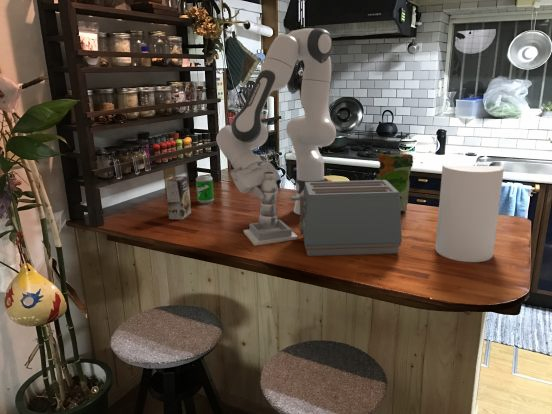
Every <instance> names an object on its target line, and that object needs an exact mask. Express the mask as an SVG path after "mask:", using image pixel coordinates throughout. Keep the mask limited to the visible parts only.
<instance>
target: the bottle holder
mask: <svg viewBox="0 0 552 414" xmlns="http://www.w3.org/2000/svg"><path fill="white" fill-rule="evenodd" d="M248 227H249V229H248V228H247V229H243V233H244V235H245V236H246V237H247V238H248V239H249V241H250V242H251V243H252V244H253V246H261V245H267V244H274V243H280V242H286V241H287V242H288V241H294V240H298V239H299V236H298V235H297V234H296V233H295V232H294V231H292V230H293V229H292V228H290V227H289V226H288V225H287V224H286V223H285V222H284V221H282V220H281V219H277V225H276V226H275V227H273V228H264V227H262V226H261V225H260V223H259V222H254V223H253V222H252V223H249V225H248Z"/></svg>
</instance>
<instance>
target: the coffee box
mask: <svg viewBox="0 0 552 414" xmlns="http://www.w3.org/2000/svg"><path fill="white" fill-rule="evenodd" d="M165 185H166V198H167V199H166V201H167V209H168V211H167V212H168V219H169V220H180V221H181V220H182V221H183V220H184V219H186V218H187V217H188V216H189V215H191V214H192V209H191V208H192V207H191V198H190V197H191V196H190V195H191V194H190V185H189V176H187V175H185V176H184V175H183V176H182V175H181V176H178V175H177V176H176V175H175V176H173V177H171V178H169V179H167V180H165Z"/></svg>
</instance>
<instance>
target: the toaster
mask: <svg viewBox="0 0 552 414" xmlns="http://www.w3.org/2000/svg"><path fill="white" fill-rule="evenodd" d="M299 199H300V215H299V222H298V229H299V234H300V235H302V237H303V243H304V248H305V251H306V255H307V256H308V257H326V256H327V257H328V256H357V255H358V256H364V255H389V254H392V255H396V254H398V253H399V250H400V249H399V248H400V247H401V246H402V242H403V241H402V239H403V238H402V237H403V236H402V217H401V213H402V211H401V212H400V197H399V192H398V191H397V190H396V189H395V188H394V187H393V186H392V185H391V184H390V183H389V182H388V181H387V180H377V179H376V180H375V179H372V180H370V179H369V180H368V179H367V180H336V181H335V180H334V181H333V180H332V181H329V182H305V187H304V195H300V197H299V196H296V195H292V196H290V200H291V201H293V202H294V201H295V202H296V201H297V200H299Z"/></svg>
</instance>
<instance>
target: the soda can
mask: <svg viewBox="0 0 552 414" xmlns="http://www.w3.org/2000/svg"><path fill="white" fill-rule="evenodd" d="M195 184H196V186H195V187H196V199H197V202H199V204H210V203H212V202H213V201H214V200H215V196H214V195H215V194H214V180H213V177H212V176H211V175H210V174H201V175H198V176H197V177H196V178H195Z"/></svg>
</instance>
